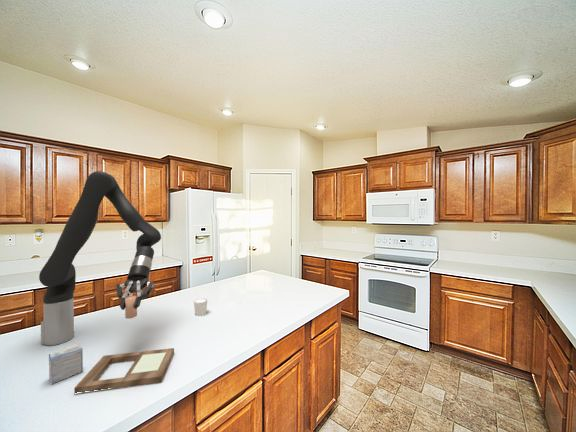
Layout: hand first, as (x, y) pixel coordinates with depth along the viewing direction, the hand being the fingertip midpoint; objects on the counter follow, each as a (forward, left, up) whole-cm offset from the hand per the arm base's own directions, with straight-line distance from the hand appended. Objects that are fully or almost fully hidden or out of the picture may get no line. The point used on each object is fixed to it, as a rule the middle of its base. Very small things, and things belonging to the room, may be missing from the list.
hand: (129, 308), depth 90 cm
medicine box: (-16, -8, -18) cm, 26 cm away
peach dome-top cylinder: (0, +2, -4) cm, 5 cm away
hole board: (+4, -10, -18) cm, 21 cm away
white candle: (+21, +33, -18) cm, 43 cm away
